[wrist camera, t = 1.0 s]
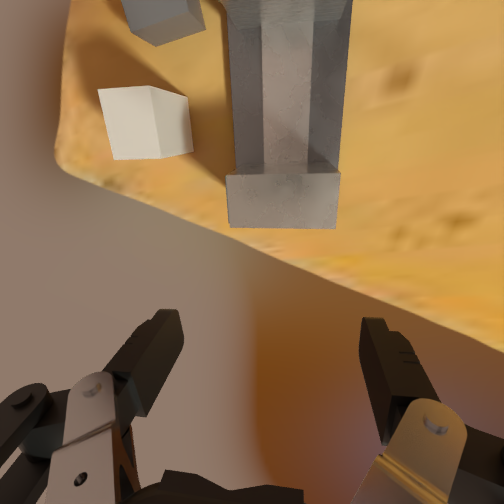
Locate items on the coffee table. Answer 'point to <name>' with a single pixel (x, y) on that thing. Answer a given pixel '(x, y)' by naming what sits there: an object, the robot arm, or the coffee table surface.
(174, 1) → the block
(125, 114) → the block
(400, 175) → the coffee table surface
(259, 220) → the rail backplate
